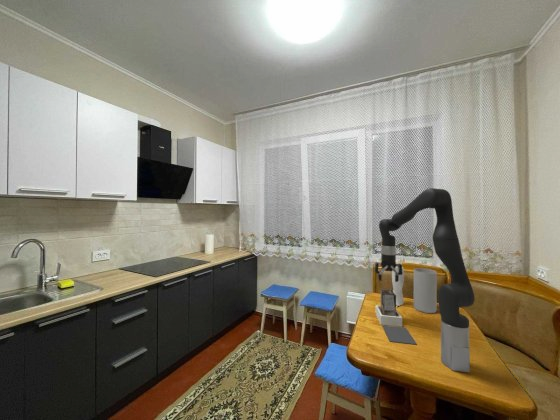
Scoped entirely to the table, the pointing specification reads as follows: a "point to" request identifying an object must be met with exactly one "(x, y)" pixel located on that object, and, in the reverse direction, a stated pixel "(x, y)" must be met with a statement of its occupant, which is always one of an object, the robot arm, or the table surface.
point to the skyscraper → (398, 286)
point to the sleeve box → (388, 318)
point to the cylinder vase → (425, 290)
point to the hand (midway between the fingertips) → (388, 281)
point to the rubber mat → (399, 335)
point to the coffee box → (388, 303)
